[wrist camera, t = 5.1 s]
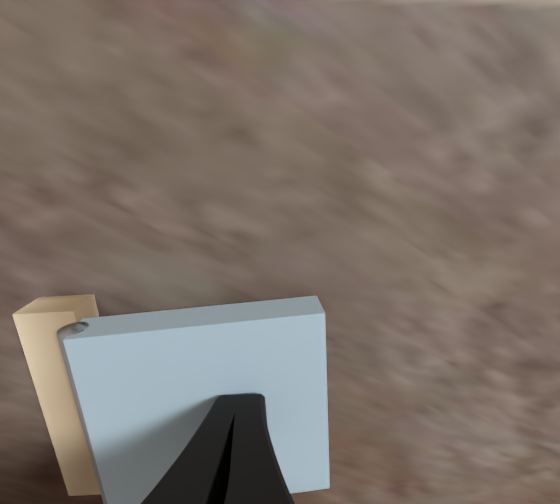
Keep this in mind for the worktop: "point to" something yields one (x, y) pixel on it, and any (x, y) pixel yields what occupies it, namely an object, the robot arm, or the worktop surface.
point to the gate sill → (58, 382)
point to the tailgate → (198, 386)
